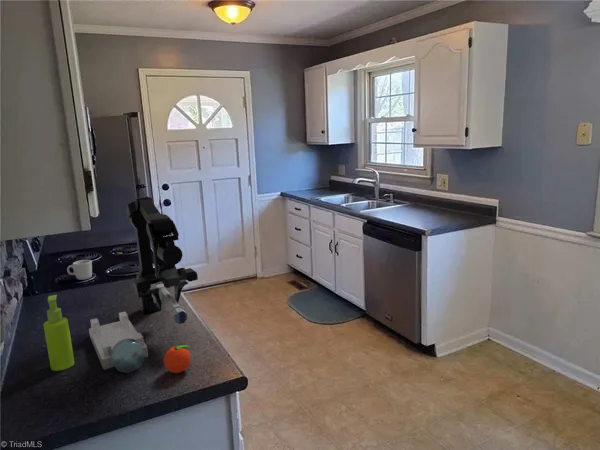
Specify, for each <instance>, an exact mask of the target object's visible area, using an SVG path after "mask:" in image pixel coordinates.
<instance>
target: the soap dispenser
mask: <svg viewBox="0 0 600 450" xmlns="http://www.w3.org/2000/svg"><path fill="white" fill-rule="evenodd" d="M57 296H58V295H57V294H53V295H48V297H47V304H48V305H49V309H47V310H46V317H47V321H45V322H44V323H43V331H44V337H45V342H46V347H47V352H48V353H47V354H48V360H49V366H50V369H51V371H53V372H57V371H64V370H66V369H69V368H71V367H73V366H74V365H75V357H74V351H73V346H72V344H73V343H72V337H71V332H70V326H69V319H68V318H67V317H63V314H62V308H61V307H58V305H57V298H58V297H57Z"/></svg>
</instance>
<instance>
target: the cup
mask: <svg viewBox="0 0 600 450" xmlns="http://www.w3.org/2000/svg"><path fill="white" fill-rule="evenodd" d="M92 263H93V260H91V259H81V260H76V261H74V262H72V264H71V265H68V267H67V268H66V271H67V273H68V275H69V276H75V278H76V279H77V280H78V281H79V280H80V281H81V280H82V281H83V280H88V279H91V278H92V275H93V264H92ZM70 268H71V269H73V272H71V271H70Z"/></svg>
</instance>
